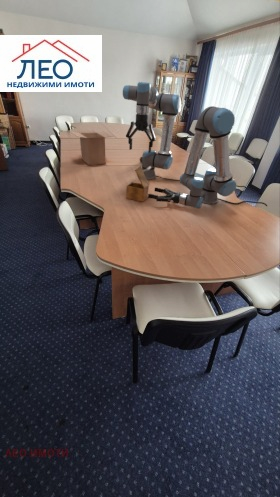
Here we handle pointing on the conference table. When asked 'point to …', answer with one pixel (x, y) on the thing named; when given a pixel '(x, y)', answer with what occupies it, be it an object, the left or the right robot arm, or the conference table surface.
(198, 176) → the book
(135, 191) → the chest
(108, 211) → the conference table surface
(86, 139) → the box
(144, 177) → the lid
